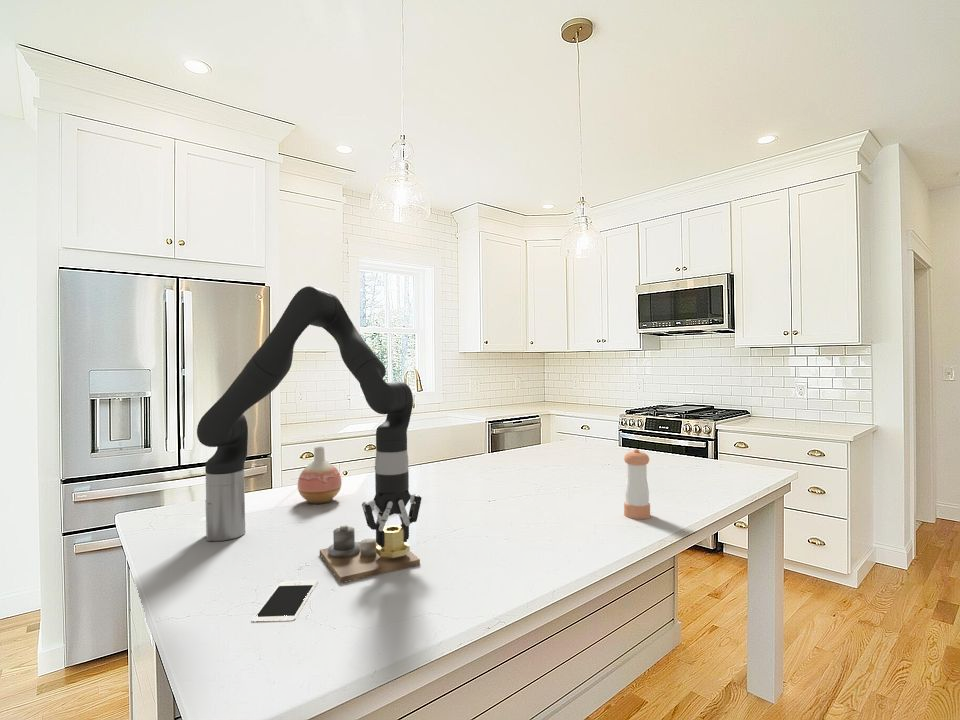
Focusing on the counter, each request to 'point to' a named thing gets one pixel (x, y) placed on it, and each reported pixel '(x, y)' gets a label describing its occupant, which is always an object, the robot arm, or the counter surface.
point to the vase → (319, 480)
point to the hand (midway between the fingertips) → (392, 543)
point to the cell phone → (286, 600)
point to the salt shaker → (636, 486)
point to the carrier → (360, 557)
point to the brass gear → (393, 543)
